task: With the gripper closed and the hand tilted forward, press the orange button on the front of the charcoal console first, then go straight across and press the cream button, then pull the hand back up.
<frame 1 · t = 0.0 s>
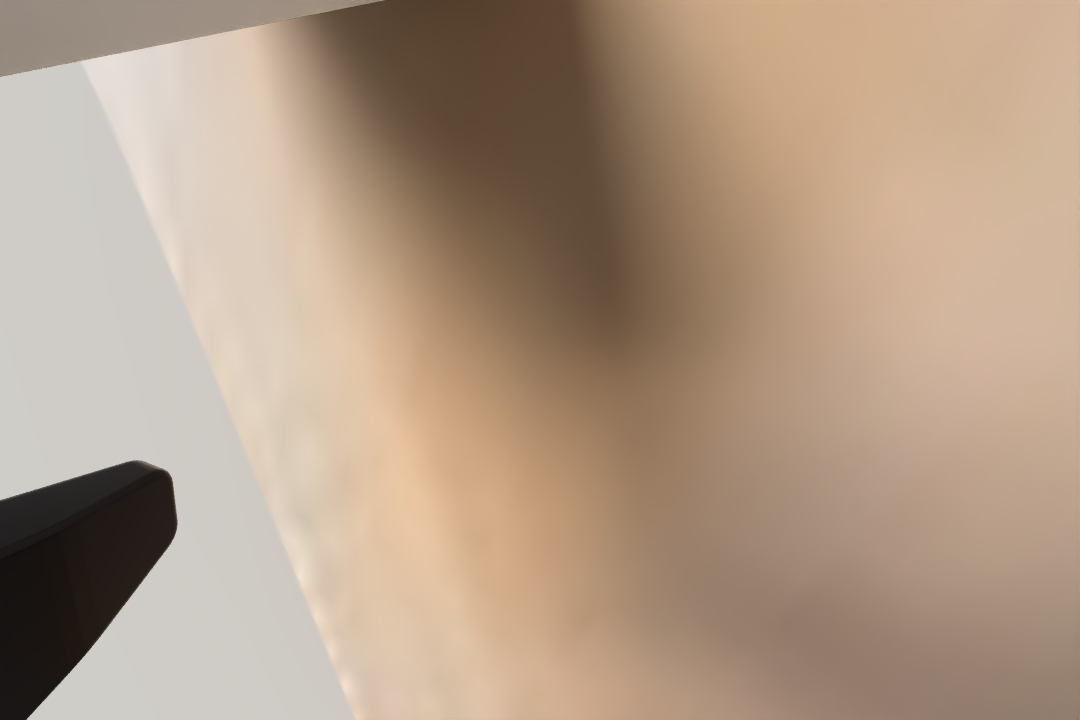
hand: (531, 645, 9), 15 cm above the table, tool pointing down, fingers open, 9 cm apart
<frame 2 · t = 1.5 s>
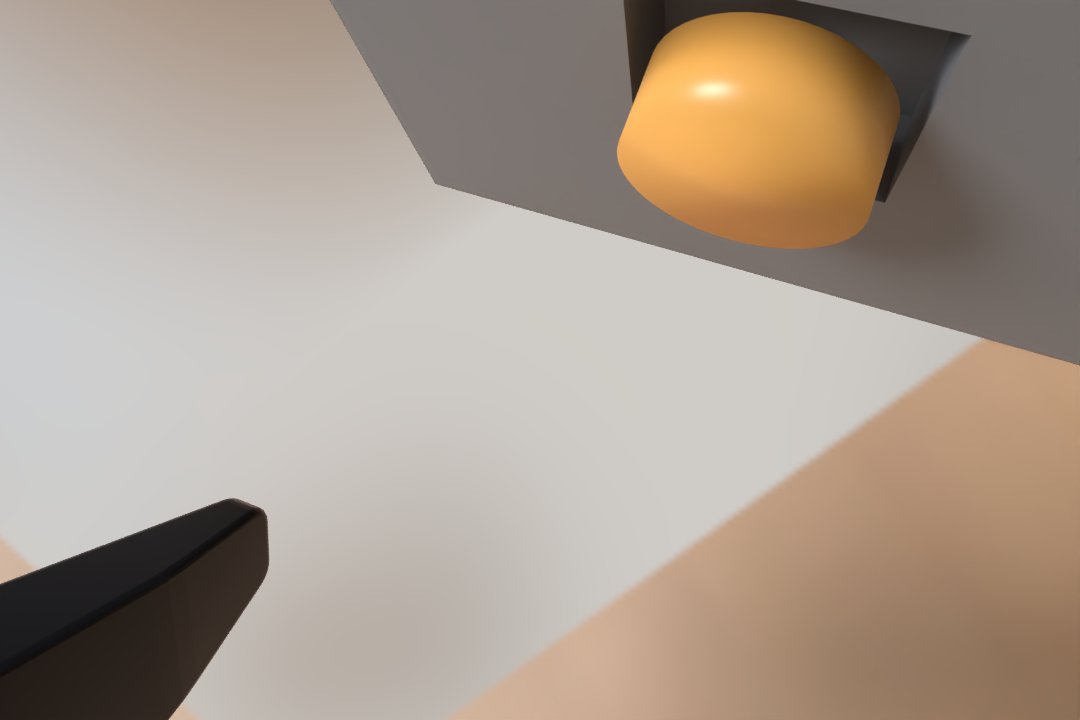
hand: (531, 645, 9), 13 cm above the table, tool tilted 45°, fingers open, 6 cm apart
console: (1052, 205, 22), on the table
orange button: (753, 142, 15), point 8 cm above the table, slide at 0.0 cm
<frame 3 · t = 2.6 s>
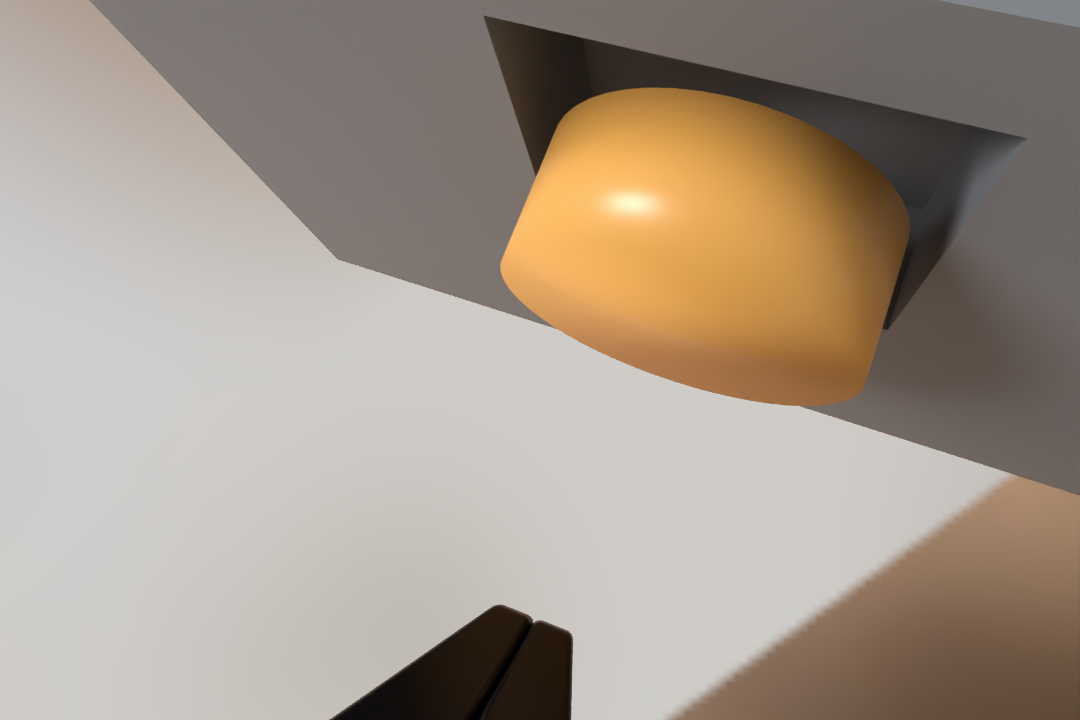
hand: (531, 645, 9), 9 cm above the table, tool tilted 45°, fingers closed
orange button: (697, 265, 10), point 8 cm above the table, slide at 0.0 cm
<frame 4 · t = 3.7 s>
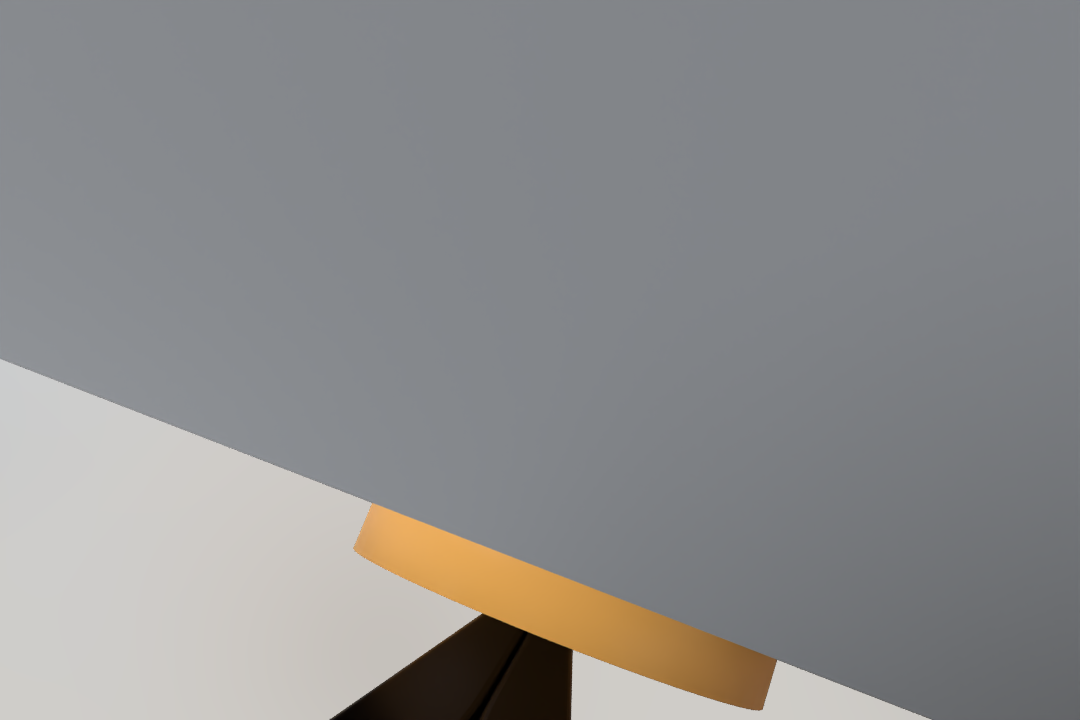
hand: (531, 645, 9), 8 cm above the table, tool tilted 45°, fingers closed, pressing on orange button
console: (1049, 521, 16), on the table
orange button: (582, 540, 9), point 8 cm above the table, slide at 1.3 cm, touching gripper
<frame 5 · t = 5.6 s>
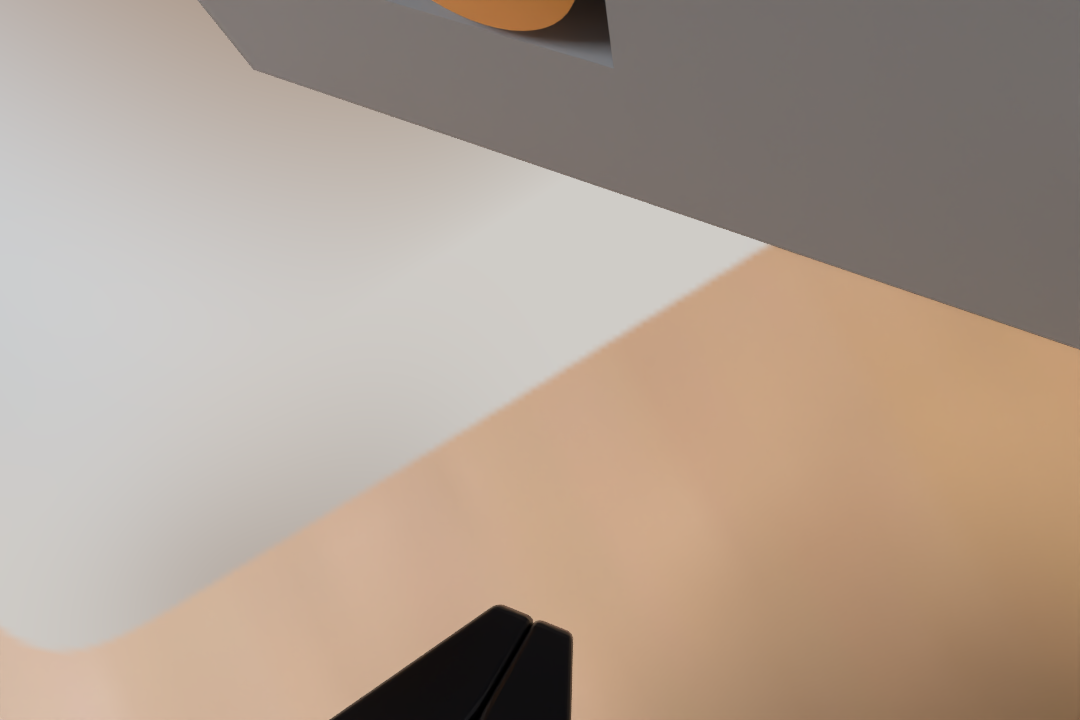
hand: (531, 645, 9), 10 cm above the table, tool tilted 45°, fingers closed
console: (857, 113, 21), on the table
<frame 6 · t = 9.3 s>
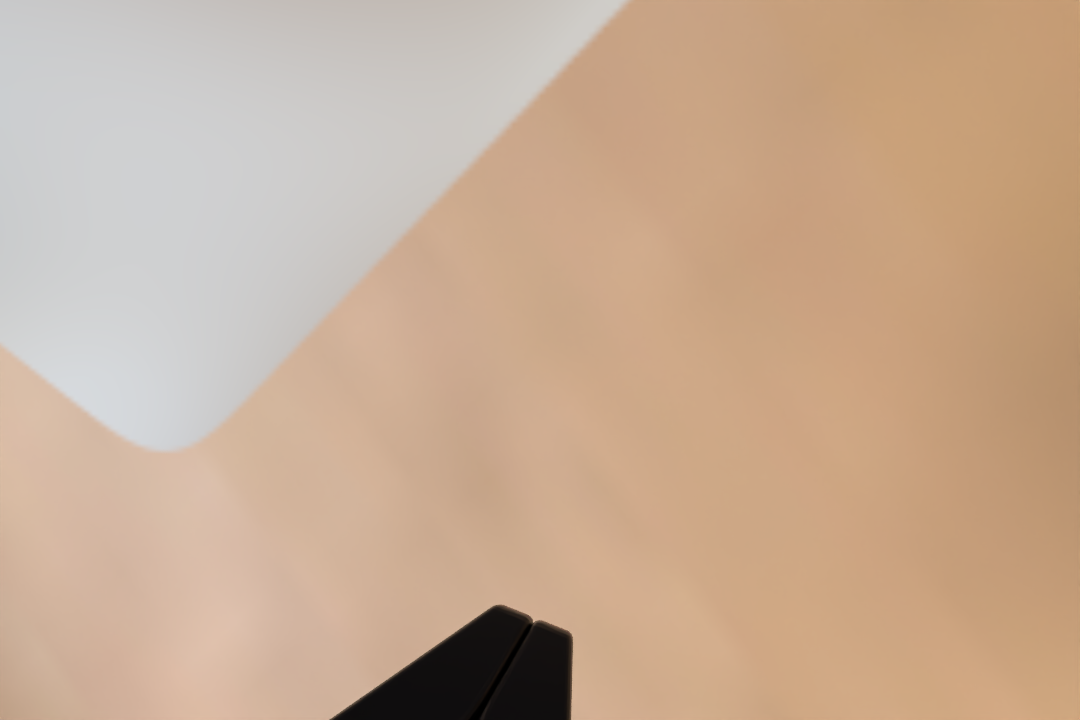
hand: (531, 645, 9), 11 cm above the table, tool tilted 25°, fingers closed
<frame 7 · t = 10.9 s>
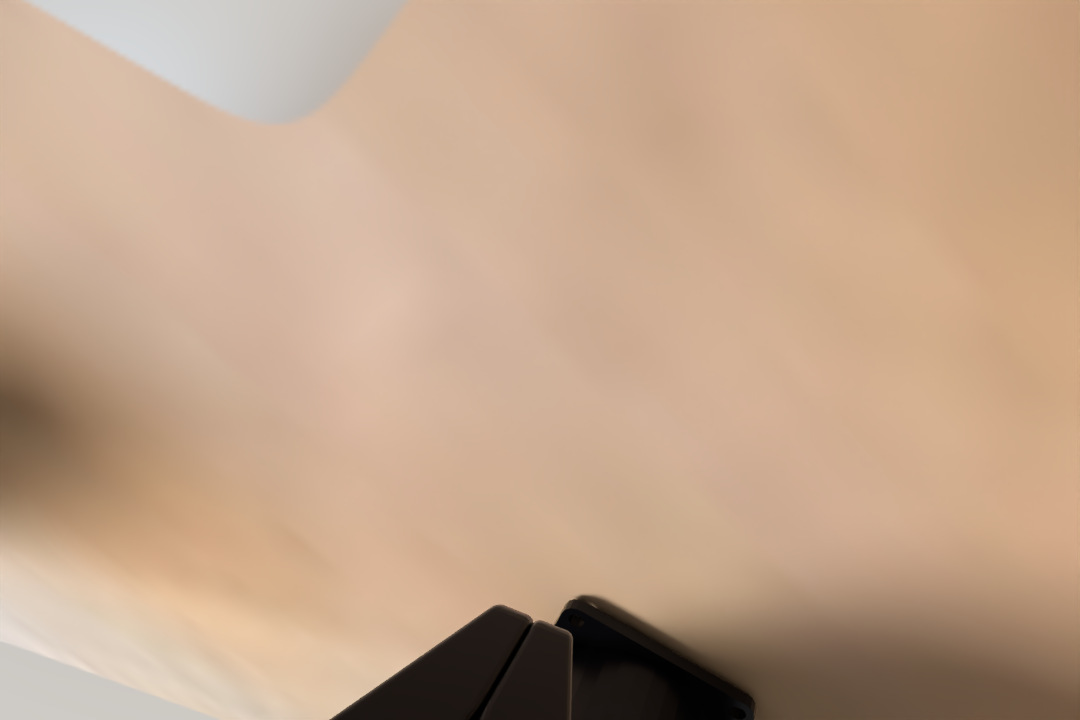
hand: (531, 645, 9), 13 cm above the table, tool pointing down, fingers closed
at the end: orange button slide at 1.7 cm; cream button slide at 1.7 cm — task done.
